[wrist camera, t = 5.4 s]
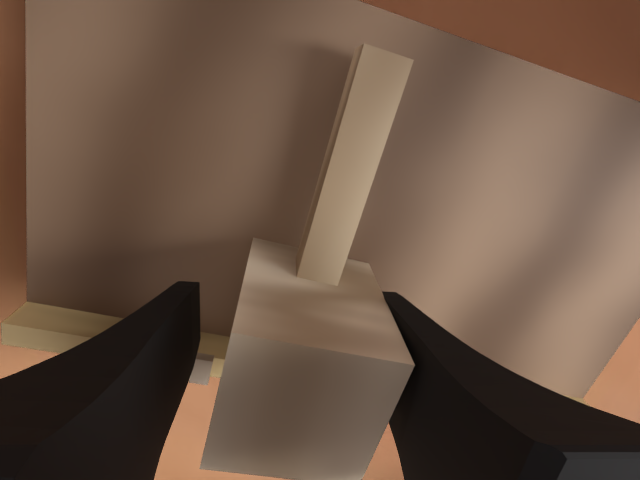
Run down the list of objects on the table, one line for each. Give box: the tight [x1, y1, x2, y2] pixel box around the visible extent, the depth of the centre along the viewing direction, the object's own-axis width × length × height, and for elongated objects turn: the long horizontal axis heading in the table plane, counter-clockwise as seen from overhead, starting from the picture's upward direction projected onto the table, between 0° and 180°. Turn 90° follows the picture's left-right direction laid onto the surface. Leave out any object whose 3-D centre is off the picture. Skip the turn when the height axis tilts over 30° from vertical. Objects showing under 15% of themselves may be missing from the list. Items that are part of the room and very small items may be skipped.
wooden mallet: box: [200, 43, 415, 480], centre depth 10 cm, size 4×10×5 cm, turn 164°
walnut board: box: [1, 0, 640, 406], centre depth 13 cm, size 22×12×4 cm, turn 74°
